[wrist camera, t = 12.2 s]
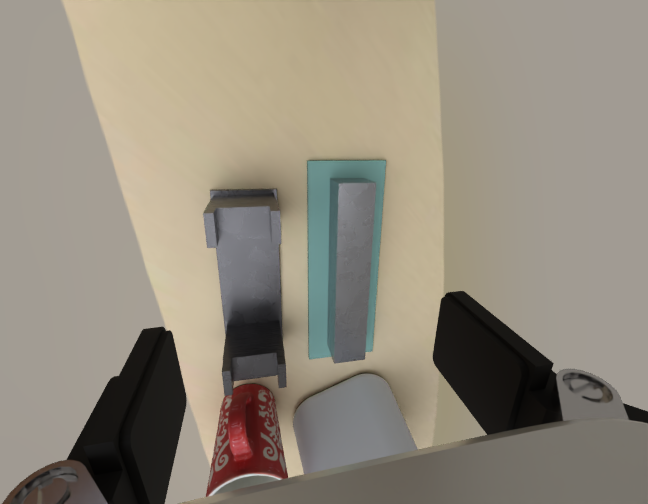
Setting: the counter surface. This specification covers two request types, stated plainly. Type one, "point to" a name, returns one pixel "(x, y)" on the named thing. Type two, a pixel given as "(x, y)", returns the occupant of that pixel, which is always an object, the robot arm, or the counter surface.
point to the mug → (247, 442)
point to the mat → (319, 243)
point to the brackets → (248, 282)
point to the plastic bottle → (350, 425)
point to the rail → (349, 266)
